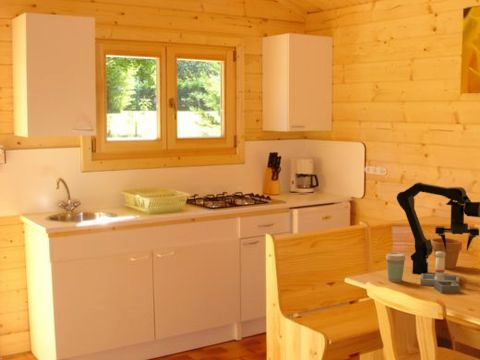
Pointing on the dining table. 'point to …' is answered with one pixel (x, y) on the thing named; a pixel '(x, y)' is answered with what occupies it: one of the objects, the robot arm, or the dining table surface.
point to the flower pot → (448, 250)
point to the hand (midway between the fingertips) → (456, 249)
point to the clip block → (446, 287)
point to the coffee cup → (395, 266)
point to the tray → (430, 278)
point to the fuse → (440, 265)
